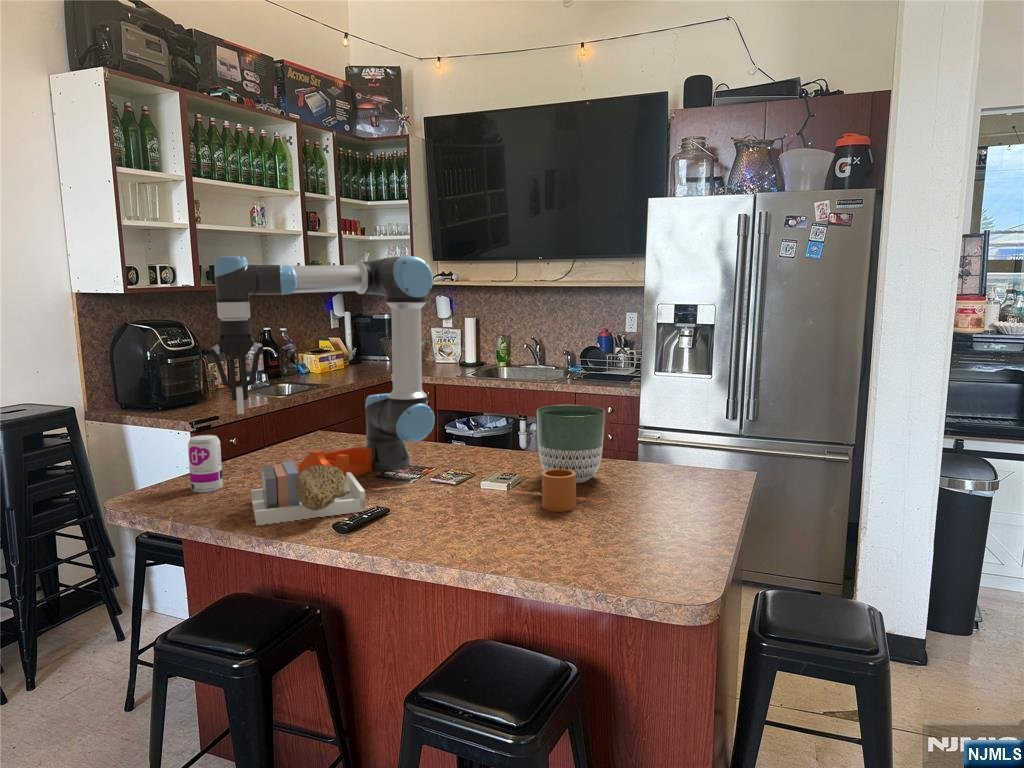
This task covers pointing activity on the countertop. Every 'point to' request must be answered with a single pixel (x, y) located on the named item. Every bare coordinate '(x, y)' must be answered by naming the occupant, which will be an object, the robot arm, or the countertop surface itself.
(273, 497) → the dark gray book
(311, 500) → the sponge
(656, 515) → the countertop surface
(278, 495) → the book row
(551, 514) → the countertop surface
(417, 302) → the robot arm
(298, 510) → the white tray
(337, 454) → the tape dispenser
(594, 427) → the planter
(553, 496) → the mug
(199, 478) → the supplement can
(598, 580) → the countertop surface
